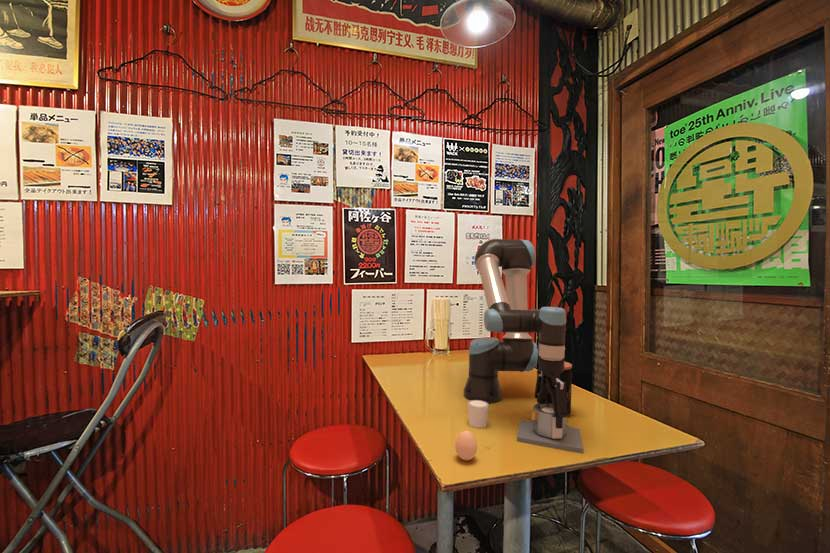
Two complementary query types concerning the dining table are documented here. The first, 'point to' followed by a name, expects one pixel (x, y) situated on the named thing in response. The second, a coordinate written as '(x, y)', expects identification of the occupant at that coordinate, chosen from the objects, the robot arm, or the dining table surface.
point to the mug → (544, 420)
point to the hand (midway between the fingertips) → (549, 430)
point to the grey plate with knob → (566, 443)
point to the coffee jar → (567, 378)
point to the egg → (466, 445)
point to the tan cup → (478, 413)
